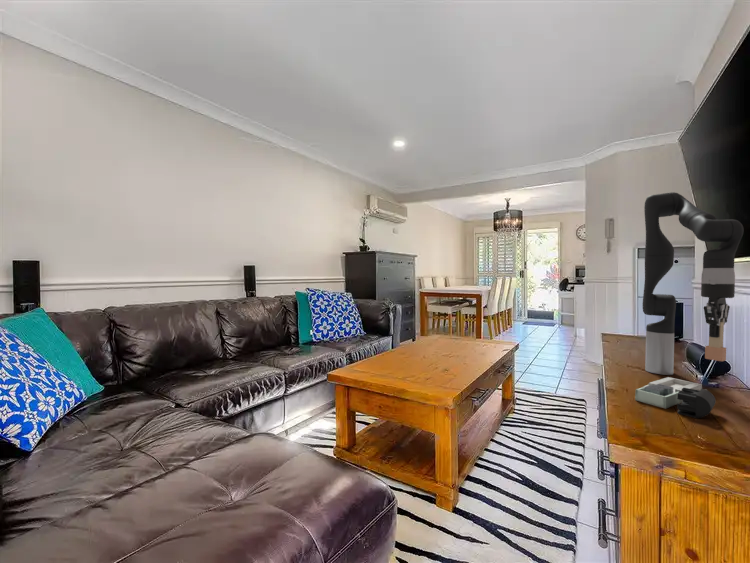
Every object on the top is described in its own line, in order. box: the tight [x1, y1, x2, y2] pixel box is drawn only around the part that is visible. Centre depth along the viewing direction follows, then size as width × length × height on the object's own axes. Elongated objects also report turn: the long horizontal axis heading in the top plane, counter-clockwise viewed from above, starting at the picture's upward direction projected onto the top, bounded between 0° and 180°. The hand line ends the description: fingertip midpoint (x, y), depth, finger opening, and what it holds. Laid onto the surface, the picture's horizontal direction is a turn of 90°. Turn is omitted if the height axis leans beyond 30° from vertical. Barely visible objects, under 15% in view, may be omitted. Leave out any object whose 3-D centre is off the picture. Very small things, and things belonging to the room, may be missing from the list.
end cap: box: [676, 388, 716, 419], centre depth 100 cm, size 10×7×7 cm
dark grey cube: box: [645, 384, 665, 396], centre depth 109 cm, size 4×4×4 cm
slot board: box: [643, 376, 707, 404], centre depth 116 cm, size 15×12×4 cm
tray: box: [634, 385, 681, 409], centre depth 110 cm, size 10×8×4 cm
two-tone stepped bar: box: [704, 322, 727, 362], centre depth 108 cm, size 3×4×12 cm
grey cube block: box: [653, 384, 674, 396], centre depth 111 cm, size 4×4×4 cm
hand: (716, 336), depth 108 cm, fingers closed on two-tone stepped bar, 2 cm apart
